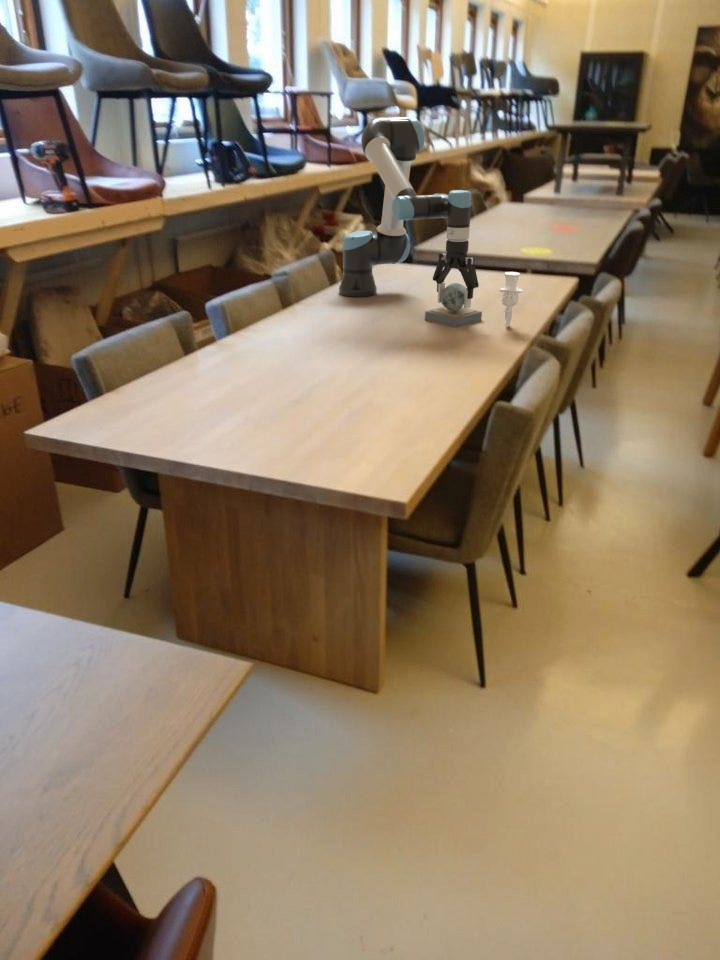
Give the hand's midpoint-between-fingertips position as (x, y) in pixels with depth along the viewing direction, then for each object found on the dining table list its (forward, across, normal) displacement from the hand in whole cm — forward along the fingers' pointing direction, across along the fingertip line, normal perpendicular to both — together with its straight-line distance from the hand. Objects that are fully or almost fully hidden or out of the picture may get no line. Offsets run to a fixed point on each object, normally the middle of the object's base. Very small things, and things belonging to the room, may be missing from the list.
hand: (453, 304), depth 260 cm
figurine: (+5, +19, +6) cm, 21 cm away
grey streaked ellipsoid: (+1, 0, 0) cm, 1 cm away
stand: (+5, 0, 0) cm, 5 cm away
